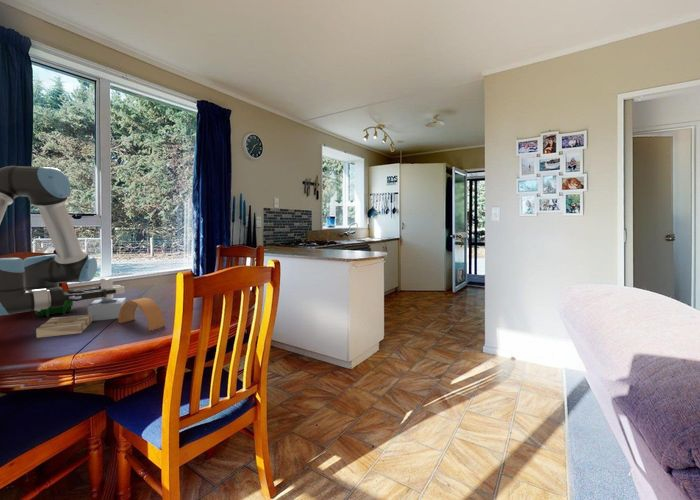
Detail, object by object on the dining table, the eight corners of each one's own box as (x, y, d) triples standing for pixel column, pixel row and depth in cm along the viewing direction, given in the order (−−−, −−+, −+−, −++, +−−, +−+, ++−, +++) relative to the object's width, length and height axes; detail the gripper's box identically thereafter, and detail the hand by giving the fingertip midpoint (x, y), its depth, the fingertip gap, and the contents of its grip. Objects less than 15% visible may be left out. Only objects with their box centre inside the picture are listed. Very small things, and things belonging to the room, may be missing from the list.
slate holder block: (95, 314, 140) (94, 300, 140) (126, 311, 145) (125, 297, 145) (88, 321, 130) (87, 306, 130) (121, 318, 135) (121, 303, 135)
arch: (149, 331, 120) (148, 304, 119) (118, 323, 129) (117, 297, 128) (164, 327, 125) (163, 301, 124) (134, 319, 134) (132, 294, 133)
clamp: (44, 327, 136) (32, 310, 131) (42, 321, 139) (29, 304, 134) (79, 311, 143) (68, 295, 138) (75, 306, 147) (64, 289, 142)
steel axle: (103, 311, 139) (101, 278, 137) (115, 310, 140) (113, 277, 139) (101, 314, 135) (99, 279, 134) (112, 313, 137) (111, 279, 135)
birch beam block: (52, 325, 125) (51, 317, 124) (91, 321, 130) (91, 314, 130) (36, 337, 112) (36, 329, 112) (81, 333, 117) (80, 324, 117)
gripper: (45, 304, 129) (116, 294, 147) (54, 312, 118) (129, 300, 136) (43, 285, 128) (115, 277, 146) (52, 291, 117) (128, 282, 135)
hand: (122, 288), depth 141 cm, fingers closed on steel axle, 4 cm apart
